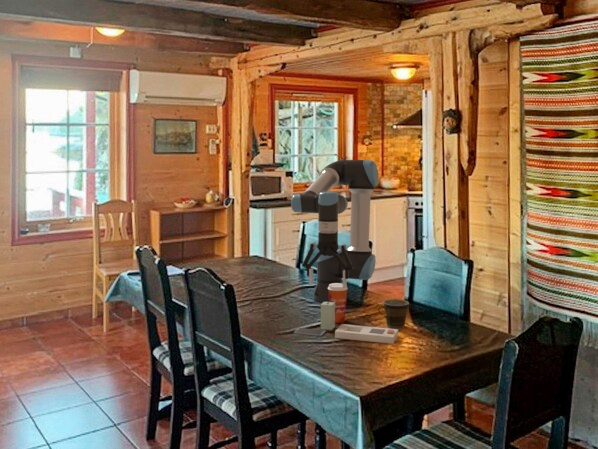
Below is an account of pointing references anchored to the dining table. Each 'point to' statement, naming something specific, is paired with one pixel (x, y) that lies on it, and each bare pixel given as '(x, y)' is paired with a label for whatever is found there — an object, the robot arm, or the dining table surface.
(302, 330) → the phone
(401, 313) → the ceramic cup
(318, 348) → the dining table surface
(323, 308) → the block
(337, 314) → the coffee cup
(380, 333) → the power strip
